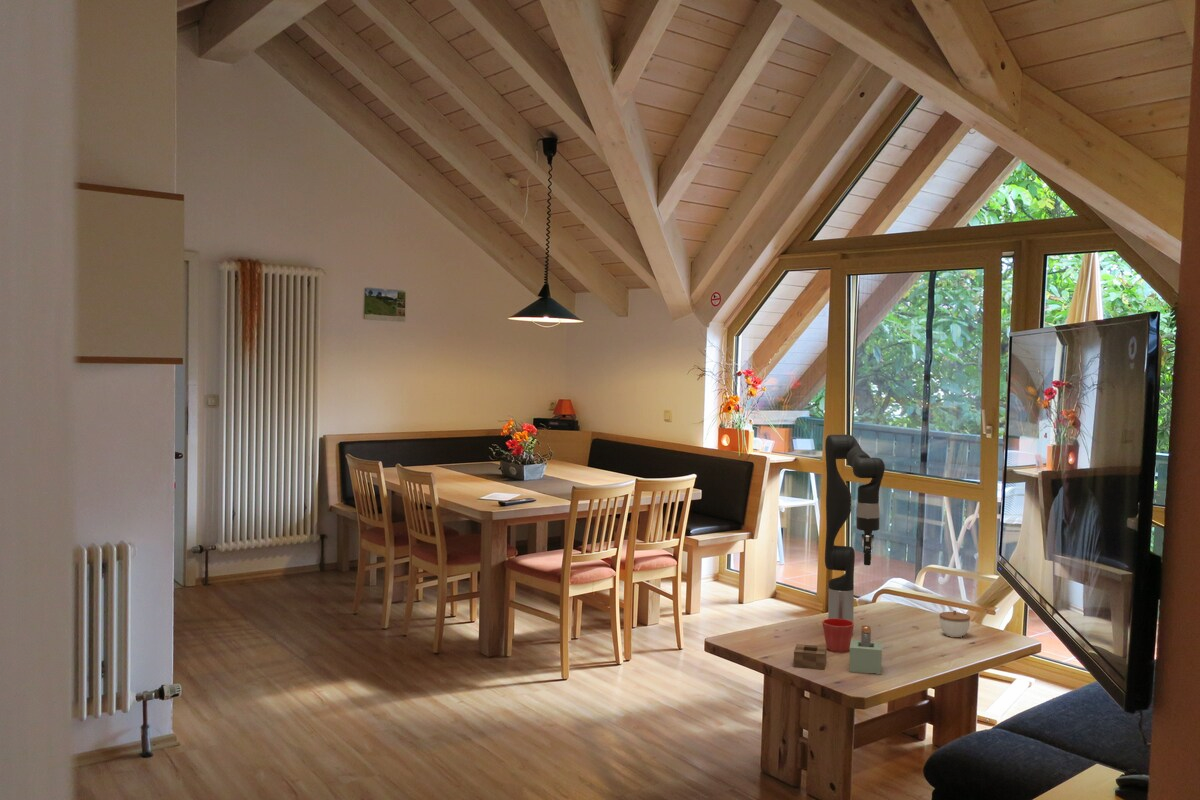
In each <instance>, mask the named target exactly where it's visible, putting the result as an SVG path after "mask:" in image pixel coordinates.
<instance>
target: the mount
mask: <svg viewBox="0 0 1200 800" xmlns="http://www.w3.org/2000/svg"><path fill="white" fill-rule="evenodd" d="M827 650H828V649H827V646H826V645H815V644H805V643H804V644H803V643H796V645H795V647H794V651H793V667H794V668H804V669H817V670H826V669H825V668H826V664H827Z"/></svg>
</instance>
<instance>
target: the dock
mask: <svg viewBox="0 0 1200 800" xmlns="http://www.w3.org/2000/svg"><path fill="white" fill-rule="evenodd" d="M882 647H883V643H882V641H872V640H871V647H862V646H861V640H859V639H851V643H850V648H849V673H860V674H868V673H876V674H875V675H879V674H881V675H882V667H883V666H882V662H883V661H882V658H883V657H882V656H883V654H882V653H883V652H882V649H883V648H882Z"/></svg>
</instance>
